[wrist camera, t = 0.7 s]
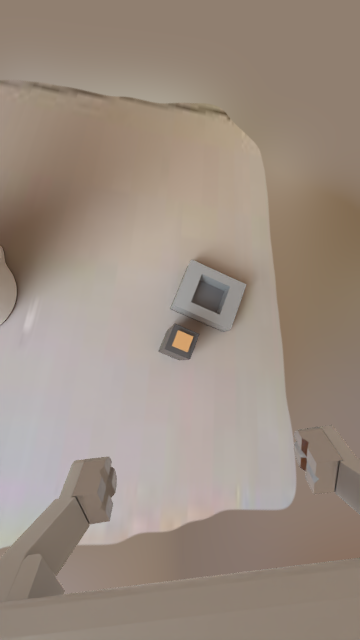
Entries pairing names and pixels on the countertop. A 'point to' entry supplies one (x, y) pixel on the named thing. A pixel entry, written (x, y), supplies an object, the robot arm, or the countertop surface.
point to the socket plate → (208, 296)
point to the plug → (179, 342)
